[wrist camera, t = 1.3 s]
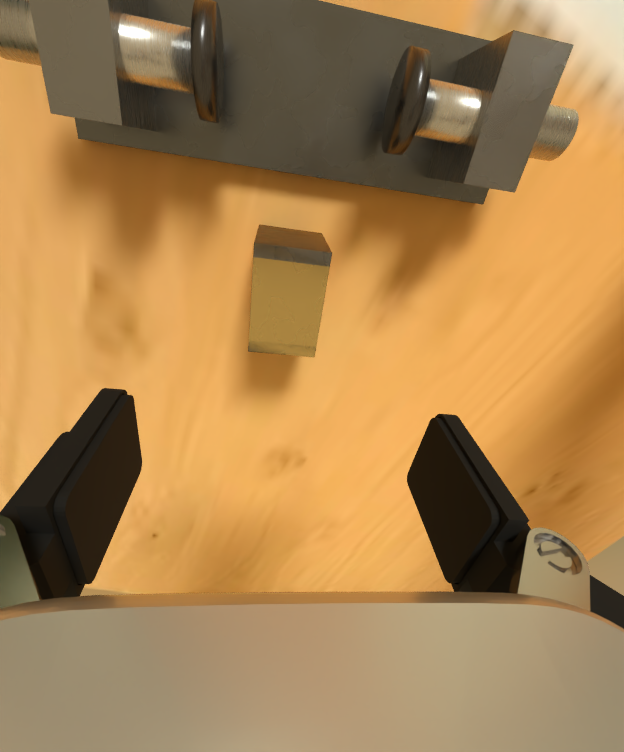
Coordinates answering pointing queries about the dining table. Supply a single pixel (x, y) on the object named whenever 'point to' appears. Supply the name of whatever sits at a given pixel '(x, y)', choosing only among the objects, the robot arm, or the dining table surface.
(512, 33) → the shaft stand
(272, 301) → the two-tone brushed block
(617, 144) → the dining table surface
